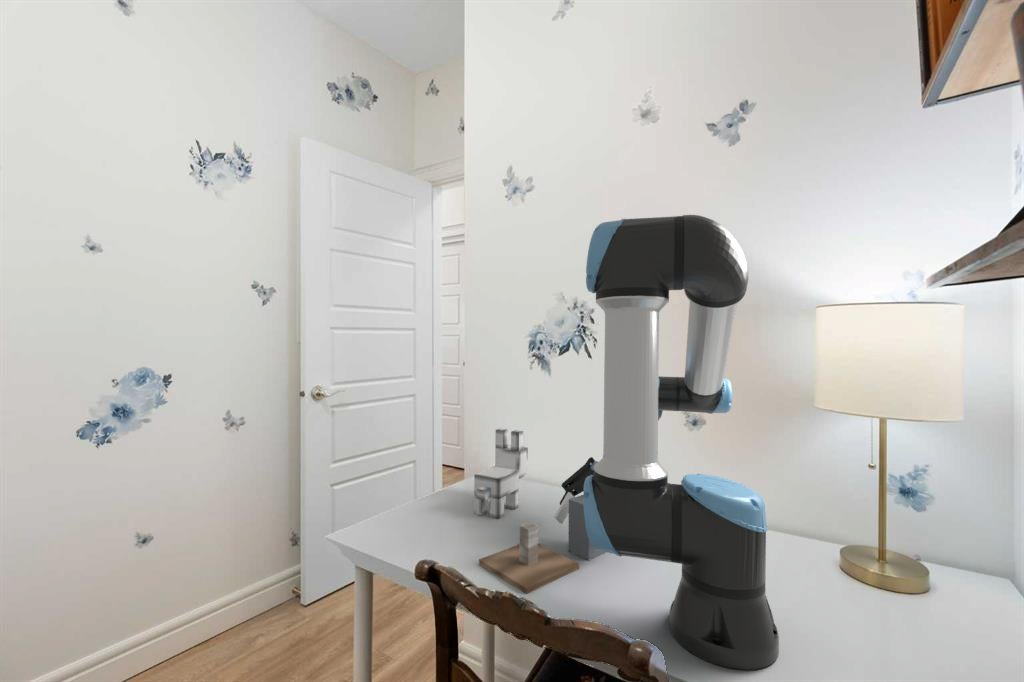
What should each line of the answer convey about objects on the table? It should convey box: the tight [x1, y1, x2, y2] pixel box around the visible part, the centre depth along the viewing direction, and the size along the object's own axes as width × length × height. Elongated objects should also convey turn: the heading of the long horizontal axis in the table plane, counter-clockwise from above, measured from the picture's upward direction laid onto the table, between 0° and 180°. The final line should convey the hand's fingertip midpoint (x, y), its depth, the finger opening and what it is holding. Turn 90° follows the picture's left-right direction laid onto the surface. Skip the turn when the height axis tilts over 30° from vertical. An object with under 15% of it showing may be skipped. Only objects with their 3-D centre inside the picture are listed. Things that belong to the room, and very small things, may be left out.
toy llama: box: [473, 427, 529, 520], centre depth 123 cm, size 8×18×20 cm, turn 150°
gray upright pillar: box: [567, 494, 607, 561], centre depth 98 cm, size 6×6×11 cm
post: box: [478, 522, 580, 594], centre depth 91 cm, size 14×14×8 cm
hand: (581, 530), depth 97 cm, fingers open, 13 cm apart
